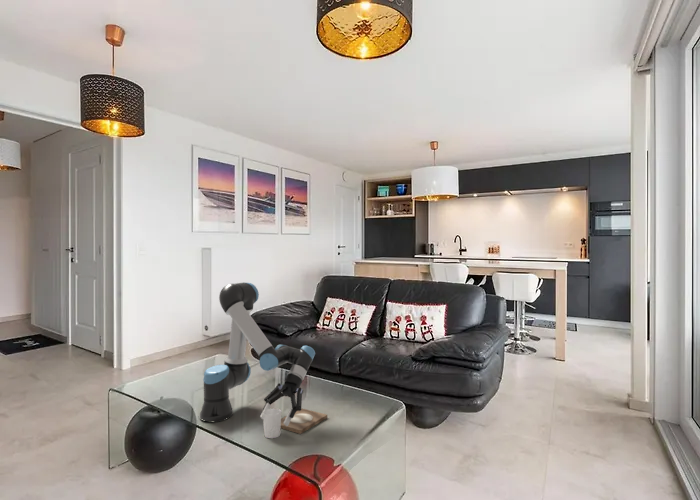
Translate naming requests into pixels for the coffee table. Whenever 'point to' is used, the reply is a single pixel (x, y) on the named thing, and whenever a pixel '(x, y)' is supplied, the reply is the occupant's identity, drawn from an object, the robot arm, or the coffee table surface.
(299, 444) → the coffee table surface
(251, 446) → the coffee table surface
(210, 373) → the robot arm
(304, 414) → the serving board
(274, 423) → the white cup
